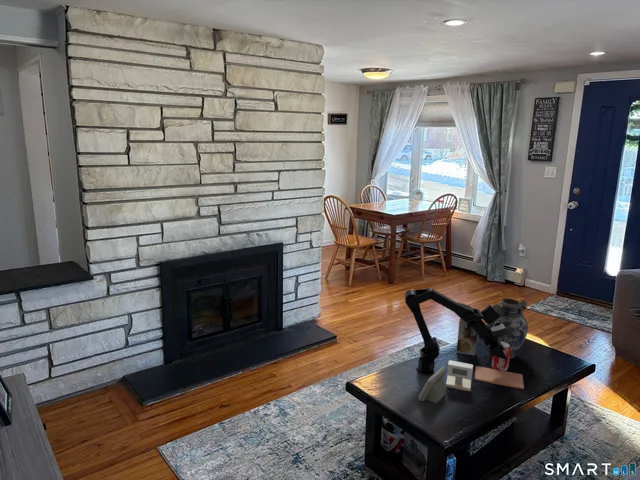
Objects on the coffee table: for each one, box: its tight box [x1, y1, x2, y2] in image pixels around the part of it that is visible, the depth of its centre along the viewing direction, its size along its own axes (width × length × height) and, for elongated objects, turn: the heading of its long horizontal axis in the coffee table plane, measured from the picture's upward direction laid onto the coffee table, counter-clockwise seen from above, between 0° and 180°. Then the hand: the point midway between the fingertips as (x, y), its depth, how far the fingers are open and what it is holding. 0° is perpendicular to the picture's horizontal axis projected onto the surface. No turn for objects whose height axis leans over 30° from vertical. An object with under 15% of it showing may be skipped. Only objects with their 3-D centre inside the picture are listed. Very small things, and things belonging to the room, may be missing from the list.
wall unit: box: [445, 360, 474, 392], centre depth 203 cm, size 8×10×10 cm
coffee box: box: [456, 317, 478, 356], centre depth 233 cm, size 9×6×16 cm
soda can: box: [491, 341, 511, 372], centre depth 208 cm, size 7×7×12 cm
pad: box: [474, 365, 525, 390], centre depth 210 cm, size 20×12×1 cm, turn 70°
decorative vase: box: [486, 298, 529, 360], centre depth 230 cm, size 21×19×28 cm
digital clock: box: [417, 366, 448, 404], centre depth 193 cm, size 16×9×11 cm, turn 131°
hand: (504, 355), depth 208 cm, fingers closed on soda can, 7 cm apart
